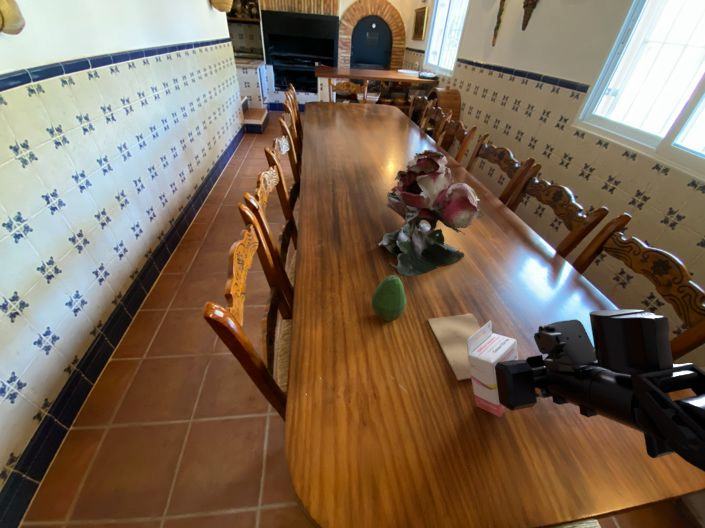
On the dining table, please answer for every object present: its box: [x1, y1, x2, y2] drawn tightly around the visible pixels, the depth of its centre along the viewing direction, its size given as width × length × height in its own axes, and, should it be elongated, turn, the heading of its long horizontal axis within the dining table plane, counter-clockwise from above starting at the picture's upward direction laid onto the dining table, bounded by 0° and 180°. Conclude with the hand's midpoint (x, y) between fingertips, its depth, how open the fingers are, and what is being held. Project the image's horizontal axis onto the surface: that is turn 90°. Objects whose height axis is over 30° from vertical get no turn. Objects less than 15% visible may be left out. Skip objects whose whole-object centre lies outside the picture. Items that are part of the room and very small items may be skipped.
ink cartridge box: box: [467, 320, 519, 418], centre depth 55 cm, size 9×5×15 cm, turn 130°
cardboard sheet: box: [426, 313, 484, 382], centre depth 67 cm, size 16×12×1 cm
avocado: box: [371, 274, 407, 322], centre depth 69 cm, size 8×8×12 cm
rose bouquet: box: [377, 149, 484, 277], centre depth 87 cm, size 26×29×30 cm
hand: (516, 363), depth 52 cm, fingers closed
